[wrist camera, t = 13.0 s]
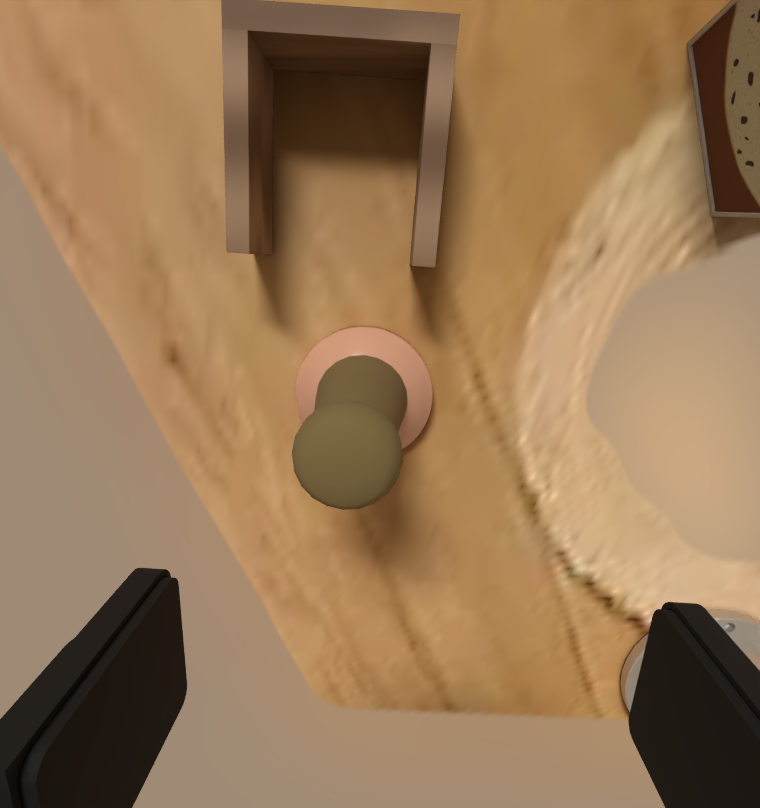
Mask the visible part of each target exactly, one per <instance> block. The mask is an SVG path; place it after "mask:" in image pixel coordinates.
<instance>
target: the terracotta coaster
mask: <svg viewBox="0 0 760 808" xmlns="http://www.w3.org/2000/svg"><path fill="white" fill-rule="evenodd" d="M357 355H367V356H371V357H375V358H379V359H381V360H383V361H384V362H386V363H388V364H389V365H391V366H392V367H393V368H394V369H395V370H396V372H397V373H398V374H399V375H400V376H401V378H402V380H403V382H404V385H405V387H406V390H407V403H408V405H407V408H406V412H405V416H404V419H403V421H402V424H401V426H400V429H399V431H398V435H399V437H400V439H401V446H402V449H404V448H405V447H407V446H408V445H409V444H410V443H411V442H413V441H414V440H415V438H416V437H417V436H418V435H419V434H420V432H421V431H422V429H423V428H424V426H425V424H426V422H427V420H428V417H429V414H430V411H431V406H432V394H433V393H432V384H431V380H430V376H429V372H428V370H427V367H426V364H425V363H424V361H423V359H422V357H421V356H420V354H419V353H418V352H417V350H416V349H415V348H414V347H413V346H412V345H411V344H410V343H409V342H407V341H406V340H405V339H404V338H402V337H401V336H399V335H397V334H395V333H393V332H391V331H389V330H386V329H383V328H379V327H373V326H354V327H349V328H345V329H341V330H339V331H336V332H334V333H332V334H330V335H329V336H327V337H325V338H324V339H323V340H322V341H320V342H319V343H318V344H317V345H316V346H315V347H314V348H313V349H312V350H311V351H310V353H309V354H308V355H307V357H306V358H305V360H304V362H303V364H302V365H301V368H300V370H299V373H298V376H297V381H296V388H295V398H296V405H297V410H298V413H299V416H300V418H301V420H302V422H304V421H305V419H306V418H307V417H308V416H309V415H311V414H312V413H313V412H314V408H315V399H316V393H317V388H318V384H319V381H320V380H321V378H322V376H323V375H324V373H325V371H326V370H327V369H328V368H330V367H331V366H332V365H333V364H334V363H335V362H337V361H339V360H342V359H344V358H346V357H349V356H357Z"/></svg>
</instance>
